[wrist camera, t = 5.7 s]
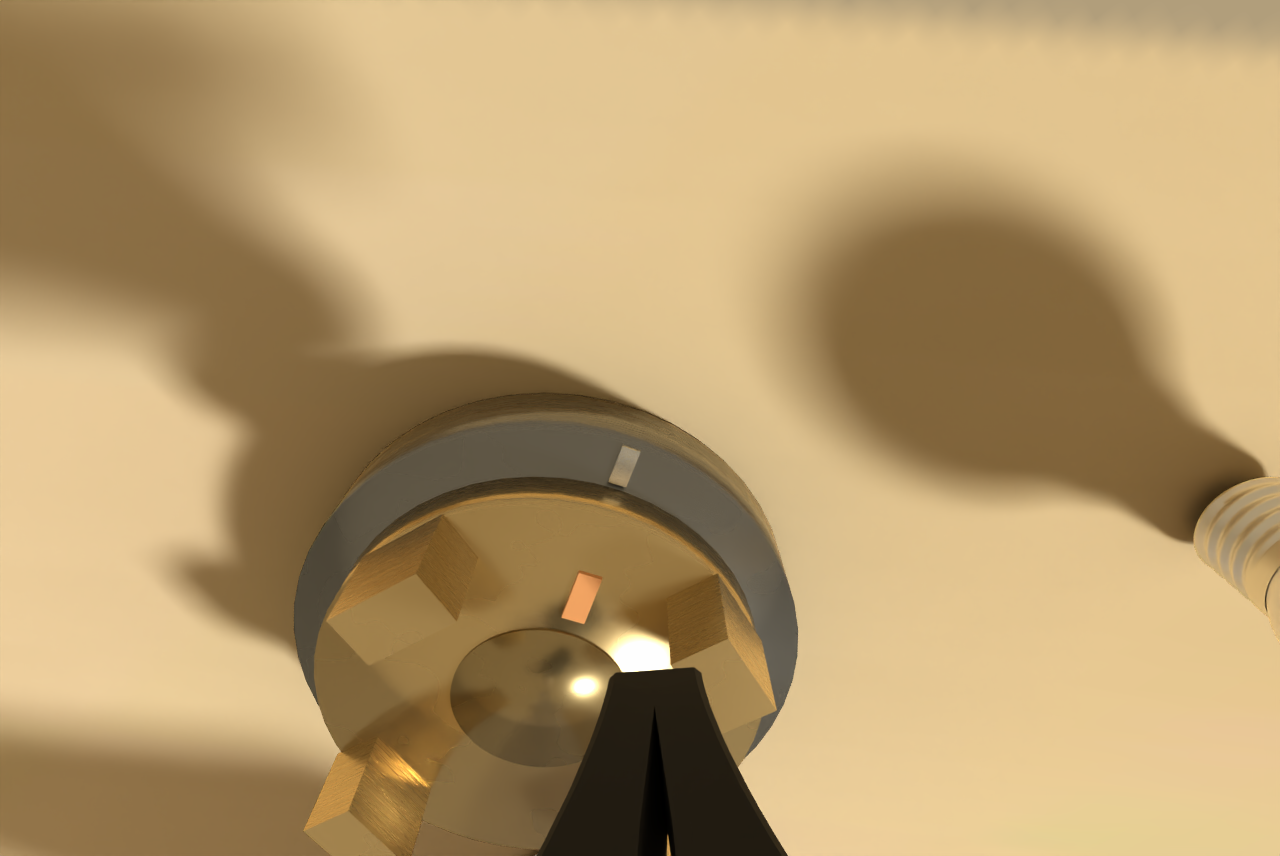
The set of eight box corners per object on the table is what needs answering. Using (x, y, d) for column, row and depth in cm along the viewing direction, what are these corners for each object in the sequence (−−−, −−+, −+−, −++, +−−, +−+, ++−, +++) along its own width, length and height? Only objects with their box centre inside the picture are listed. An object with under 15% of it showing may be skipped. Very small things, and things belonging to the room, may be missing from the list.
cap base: (568, 824, 24) (562, 890, 22) (235, 603, 20) (192, 658, 18) (876, 603, 20) (901, 658, 18) (538, 287, 16) (525, 314, 15)
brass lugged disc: (276, 720, 19) (209, 837, 16) (435, 396, 15) (387, 471, 12) (627, 854, 21) (625, 980, 18) (841, 597, 17) (883, 702, 14)
